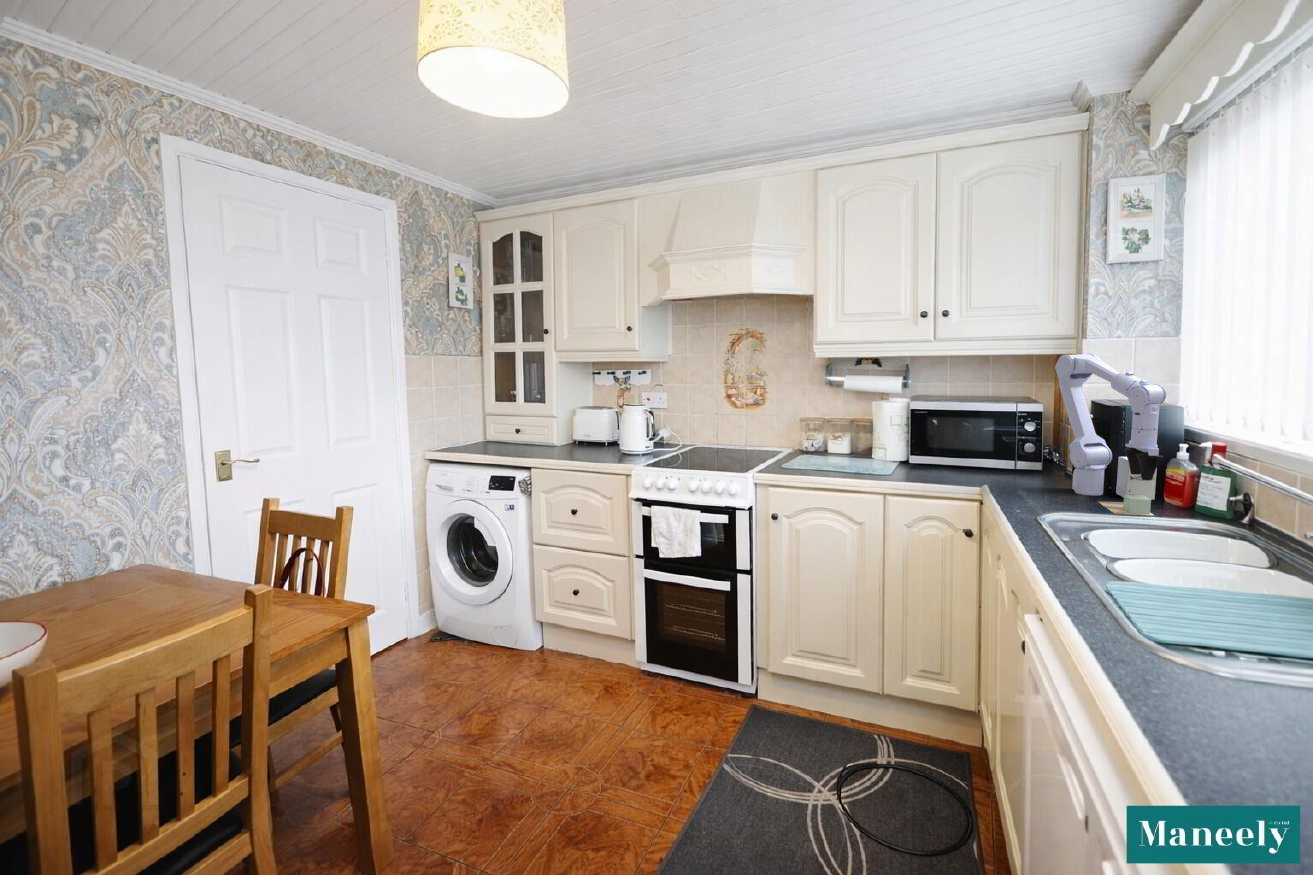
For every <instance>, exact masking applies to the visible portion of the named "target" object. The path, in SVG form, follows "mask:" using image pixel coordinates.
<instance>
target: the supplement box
mask: <svg viewBox="0 0 1313 875" xmlns="http://www.w3.org/2000/svg"><path fill="white" fill-rule="evenodd" d="M1117 462H1118V463H1117V479H1116V488H1115V489H1116V491H1115V493H1116V495H1119V496H1120V497H1122V498H1123V499H1124V495H1142V496H1146V497H1147V498H1149V499H1151V500H1155V496H1156V484H1157V473H1158V472H1157V470H1158V467H1157V468H1156V470H1155V473H1154V476H1153V478H1152V480H1142V478H1141V474H1140V475H1138V474H1131V471H1130V467H1129V462H1128V458H1127V456H1118V461H1117Z"/></svg>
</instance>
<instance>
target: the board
mask: <svg viewBox="0 0 1313 875" xmlns="http://www.w3.org/2000/svg"><path fill="white" fill-rule="evenodd" d="M1097 502H1098V504H1100V505H1102V506H1103V507H1104V508H1106V509H1107V510H1109V511H1110V512H1111V513H1113V515H1114V514H1115V515H1127V516H1128V515H1129V516H1152V517H1153V516H1154V517H1155V516H1156V515H1154V514H1153V513H1152V512H1150V514H1132V513H1128V512H1127V511H1125V510H1124V509H1123V505H1124V501H1122V502H1121V501H1097Z"/></svg>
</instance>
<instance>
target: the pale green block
mask: <svg viewBox="0 0 1313 875" xmlns="http://www.w3.org/2000/svg"><path fill="white" fill-rule="evenodd" d="M1123 502H1124V505H1123V509H1124V510H1125V511H1127V512H1128V513H1132V514H1150V513H1151V508H1152V507H1151V506H1152V504H1151V503H1152V499H1149V498H1147V497H1146V496H1142V495H1124V498H1123Z"/></svg>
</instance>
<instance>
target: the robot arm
mask: <svg viewBox="0 0 1313 875" xmlns="http://www.w3.org/2000/svg"><path fill="white" fill-rule="evenodd" d="M1054 368H1055V371H1056V375H1057V376H1056V377H1057V378H1058V386H1059V390H1060V393H1061V397H1062V401H1063V403H1064V406H1065V410H1066V412H1067V417H1068V420H1069V424H1070V426H1071V430H1072V433H1073V436H1074V440H1073V441H1072V442H1070V444H1069V445H1068V448H1069V460H1070V462H1071V464H1072V465H1073V468H1075V469H1074V470H1073V472H1072V486H1071V487H1072V490H1074V493H1075V494H1078V495H1083V496H1102V495H1103V494H1104V481H1105V469H1108V468H1107V466H1108V465H1109V464H1111V462H1112V460H1113V453H1112V450H1111V449H1110V448H1109V446H1108V445H1107V442H1106V440H1105V439H1104V438H1103V437H1101V436H1099V435H1098V434H1097V433H1096V430H1095V427H1094V424H1093V420H1092V418H1091V415H1090V411H1089V408H1088V405H1087V404H1088V403H1086V398H1085V395H1084V392H1083V389H1082V386H1083V384H1084V383H1086V382H1087V381H1088V380H1089V379H1090V378H1091V377H1092V376H1093V375H1095V376H1096V377H1099V378H1101V379H1103V380H1105V381H1107V382H1109V383H1110V387H1111V389H1113V390H1114V391H1116V392H1118V393H1120V394H1122V395H1123V396H1124V397H1126V398H1127V399H1128V402H1129V403H1130V407H1131V408H1130V409H1131V412H1132V419H1131V433H1130V434H1131V435H1130V440H1128V443H1125V447H1127V448H1124V449H1123V452H1124V454H1125V457H1127V458H1128V462H1129V467H1130V471H1131V474H1138V475H1140V474H1141V478H1142V480H1152V478H1153V476H1154V473H1155V470H1156V468H1157V469H1158V466H1159V465H1160V463H1161V462H1162V460H1163V459H1164V455H1159V453H1160V451H1159V450H1160V448H1158V443H1157V441H1158V434H1159V432H1158V430H1159V419H1160V418H1159V417H1160V405H1162V404H1163V403H1164V402H1165V401H1166V399H1167V392H1166V390H1165V388H1164V387H1163V386H1161V385H1160V384H1159V383H1154V384H1151V383H1148V381H1147V380H1146V379H1141V378H1139V377H1137V376H1136V375H1134V374H1135V373H1134V372H1133V371H1122V372H1120V371H1118V370H1116V369H1115V368H1114V367H1112V366H1110V365H1109V364H1108V363H1106V362H1104V361H1103V360H1102V359H1101V357H1100V356H1098V355H1095V354H1094V353H1090V352H1089V353H1082V354H1063V355H1060V357H1059V358H1058V359H1057V361H1056V363H1055V366H1054Z"/></svg>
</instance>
